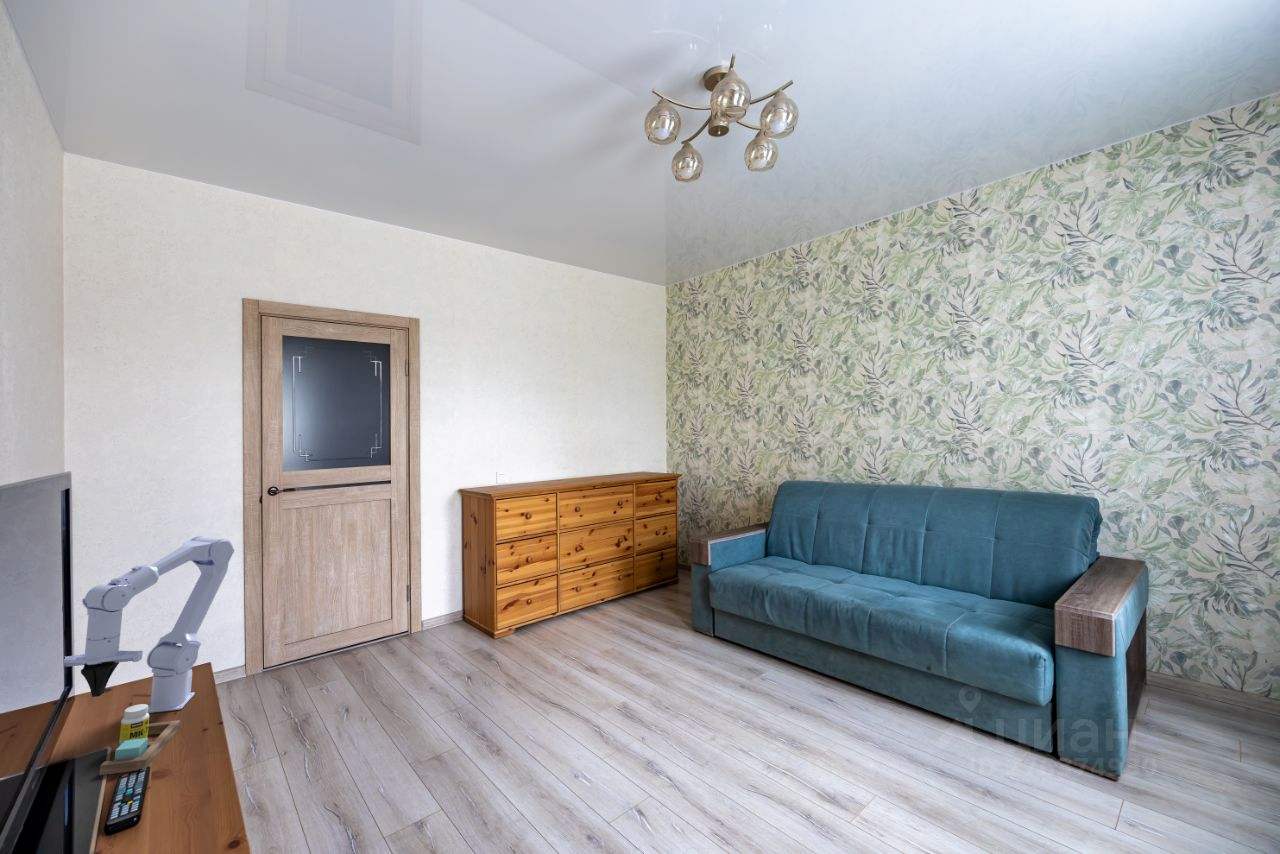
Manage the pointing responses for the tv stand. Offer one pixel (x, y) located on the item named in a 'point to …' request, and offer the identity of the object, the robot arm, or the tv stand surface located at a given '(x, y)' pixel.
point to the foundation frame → (152, 750)
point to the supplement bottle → (134, 723)
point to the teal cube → (131, 749)
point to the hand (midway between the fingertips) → (97, 694)
